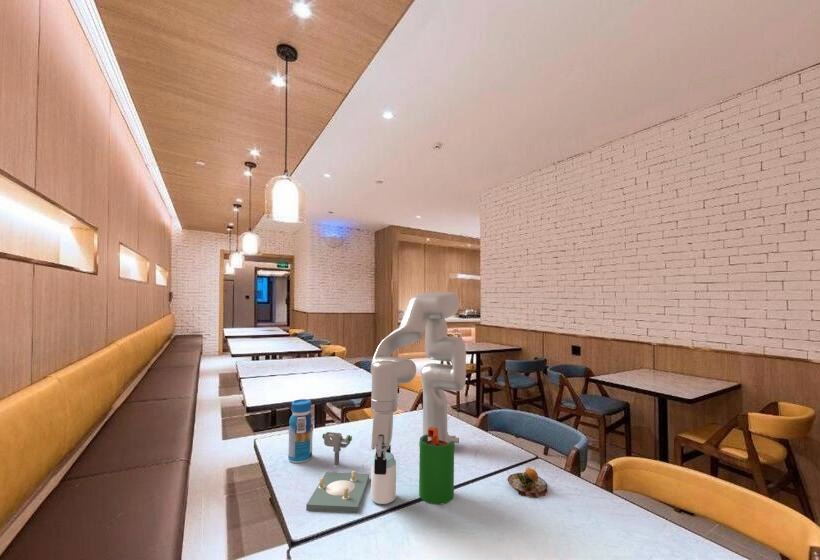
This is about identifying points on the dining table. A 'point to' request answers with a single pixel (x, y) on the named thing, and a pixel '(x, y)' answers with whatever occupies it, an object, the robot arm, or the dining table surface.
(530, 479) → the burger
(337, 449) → the mechanical component
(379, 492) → the can
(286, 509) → the dining table surface
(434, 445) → the motor
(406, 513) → the dining table surface
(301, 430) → the beverage bottle
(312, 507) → the pin board
